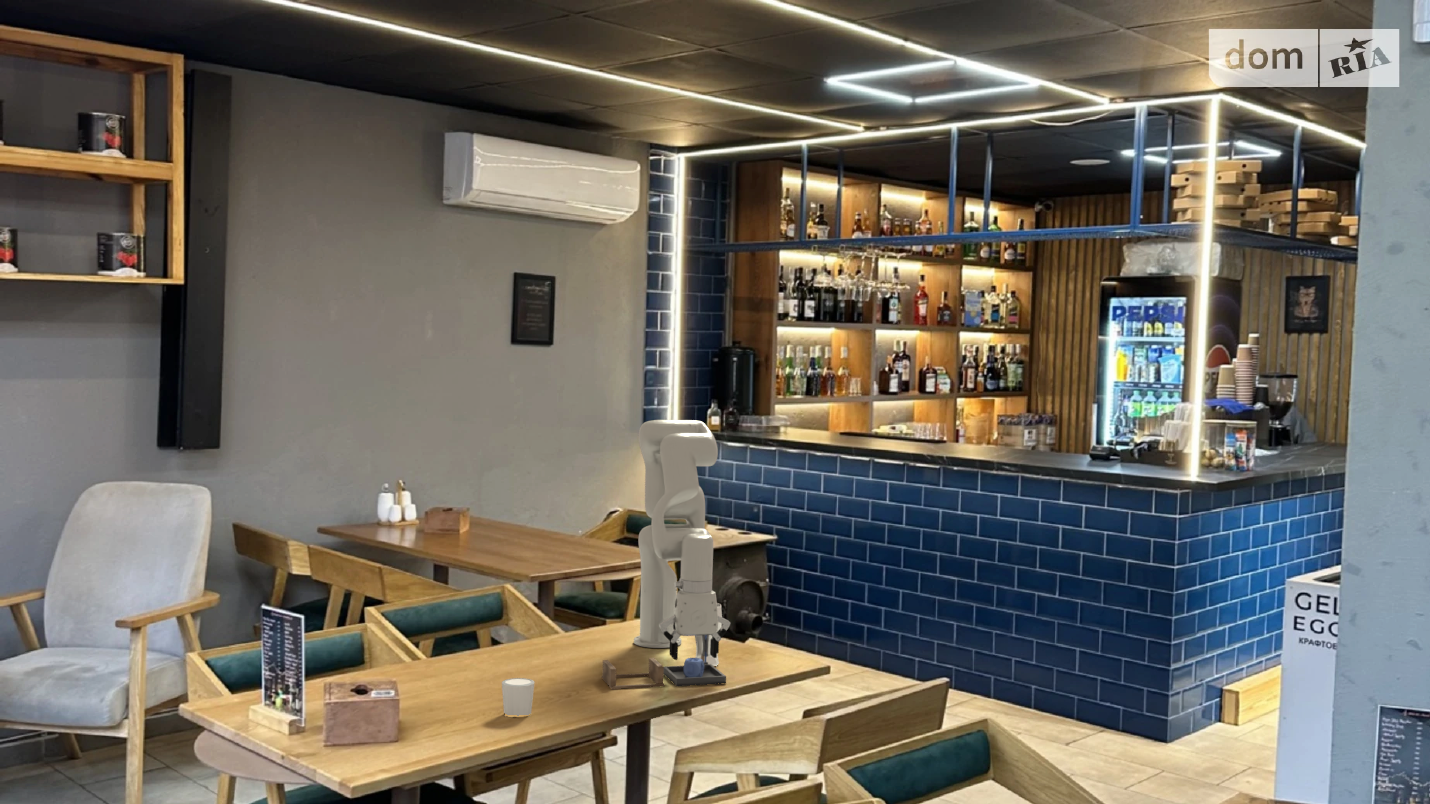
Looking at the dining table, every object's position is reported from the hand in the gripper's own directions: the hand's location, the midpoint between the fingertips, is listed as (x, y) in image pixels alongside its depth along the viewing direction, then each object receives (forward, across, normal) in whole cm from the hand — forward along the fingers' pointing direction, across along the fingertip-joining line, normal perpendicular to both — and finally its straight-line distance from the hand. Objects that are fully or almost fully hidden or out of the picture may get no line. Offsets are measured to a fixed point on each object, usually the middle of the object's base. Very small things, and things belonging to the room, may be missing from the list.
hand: (693, 657), depth 308 cm
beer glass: (+6, +7, +12) cm, 15 cm away
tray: (+5, 0, -1) cm, 5 cm away
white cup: (+5, -45, -22) cm, 50 cm away
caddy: (+5, -15, -1) cm, 16 cm away
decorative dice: (+4, 0, -1) cm, 5 cm away
